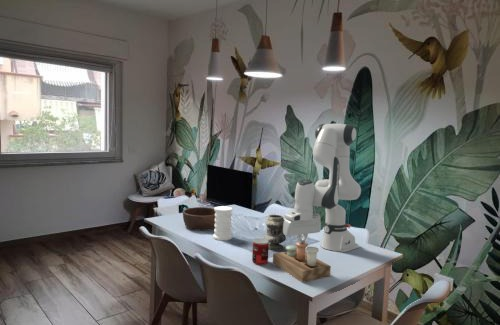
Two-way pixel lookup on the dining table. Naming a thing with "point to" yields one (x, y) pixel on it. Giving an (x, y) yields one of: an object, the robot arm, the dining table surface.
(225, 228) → the decorative container
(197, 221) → the wooden bowl
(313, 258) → the cream plunger
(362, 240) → the dining table surface
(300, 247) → the peach mushroom knob
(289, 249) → the sage plunger
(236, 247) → the dining table surface
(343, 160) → the robot arm
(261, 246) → the canned food
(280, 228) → the apothecary jar
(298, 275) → the walnut board
